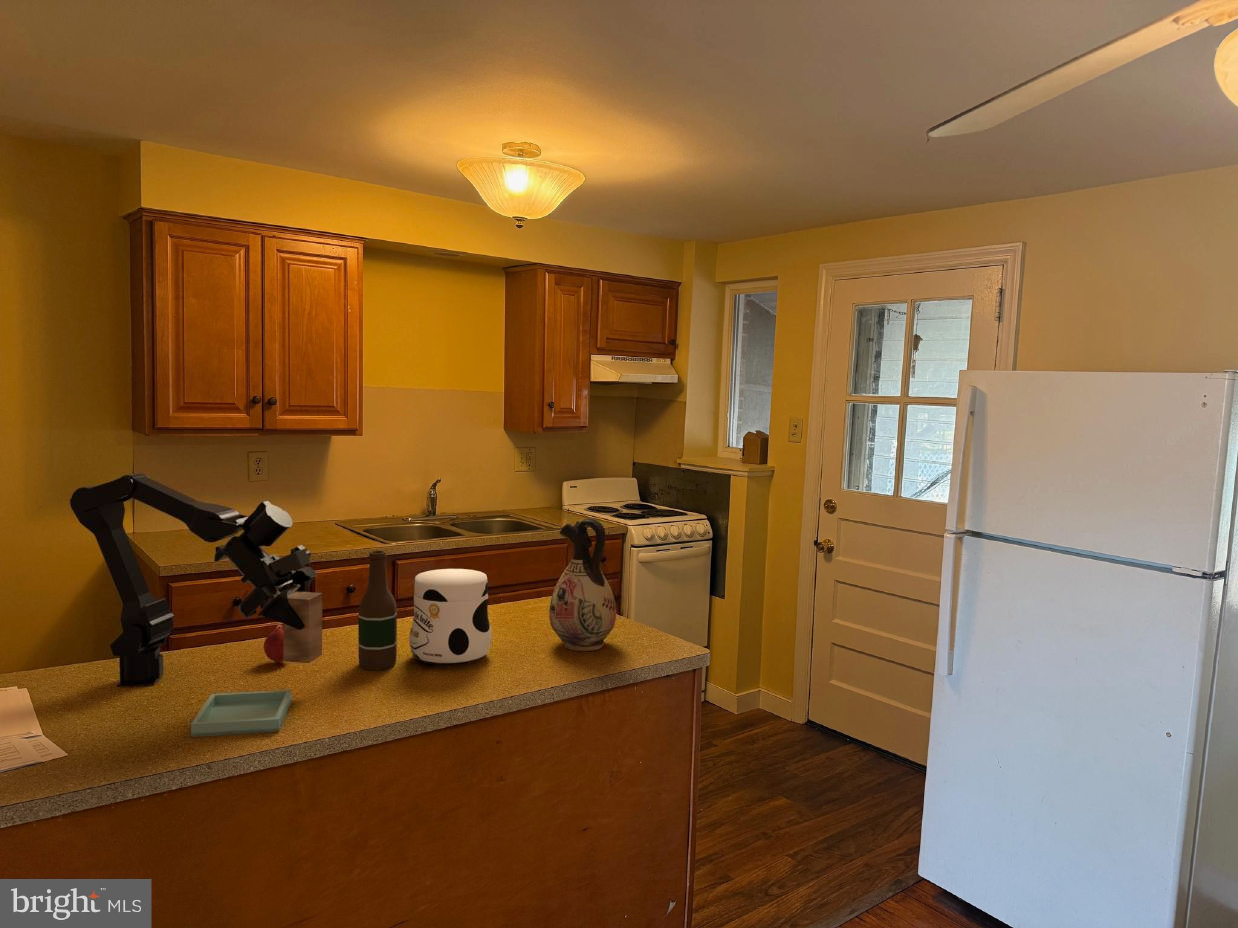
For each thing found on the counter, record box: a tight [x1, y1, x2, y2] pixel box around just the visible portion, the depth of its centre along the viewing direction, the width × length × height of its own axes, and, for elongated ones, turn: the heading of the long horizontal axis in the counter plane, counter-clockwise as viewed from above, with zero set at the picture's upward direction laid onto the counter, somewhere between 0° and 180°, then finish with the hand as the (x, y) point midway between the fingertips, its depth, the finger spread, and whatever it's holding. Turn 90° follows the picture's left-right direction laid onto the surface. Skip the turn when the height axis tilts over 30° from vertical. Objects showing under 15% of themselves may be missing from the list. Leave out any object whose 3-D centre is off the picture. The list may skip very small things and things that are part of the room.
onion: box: [263, 624, 285, 664], centre depth 173 cm, size 6×6×8 cm
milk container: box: [408, 568, 493, 667], centre depth 178 cm, size 17×17×18 cm
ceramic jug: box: [548, 518, 617, 652], centre depth 189 cm, size 17×16×30 cm
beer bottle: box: [357, 550, 398, 671], centre depth 173 cm, size 8×8×24 cm
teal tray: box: [190, 689, 293, 738], centre depth 145 cm, size 14×14×2 cm
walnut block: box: [282, 591, 323, 664], centre depth 156 cm, size 5×5×12 cm
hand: (309, 624), depth 156 cm, fingers closed on walnut block, 5 cm apart
